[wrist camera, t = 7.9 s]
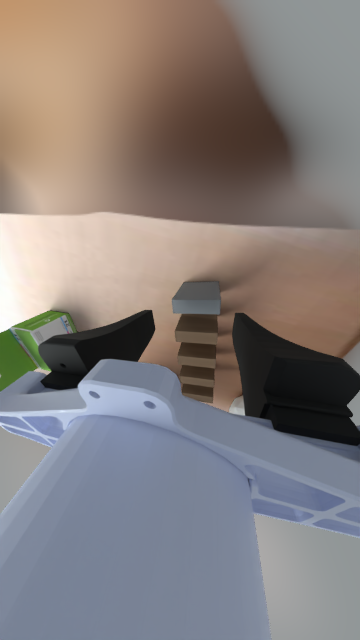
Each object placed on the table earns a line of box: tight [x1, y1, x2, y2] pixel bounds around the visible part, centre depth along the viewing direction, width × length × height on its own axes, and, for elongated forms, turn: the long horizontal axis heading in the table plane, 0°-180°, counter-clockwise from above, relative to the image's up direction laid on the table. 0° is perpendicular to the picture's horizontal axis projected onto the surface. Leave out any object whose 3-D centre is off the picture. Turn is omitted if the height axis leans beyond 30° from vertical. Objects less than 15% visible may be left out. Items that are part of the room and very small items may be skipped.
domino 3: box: [178, 342, 216, 368], centre depth 22 cm, size 2×5×7 cm, turn 94°
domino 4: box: [180, 365, 214, 388], centre depth 24 cm, size 2×5×7 cm, turn 94°
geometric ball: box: [229, 395, 245, 416], centre depth 28 cm, size 8×8×8 cm
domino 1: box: [172, 281, 221, 314], centre depth 18 cm, size 2×5×7 cm, turn 94°
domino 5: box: [182, 383, 213, 403], centre depth 25 cm, size 2×5×7 cm, turn 94°
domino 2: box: [175, 314, 218, 345], centre depth 20 cm, size 2×5×7 cm, turn 94°
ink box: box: [0, 311, 77, 392], centre depth 26 cm, size 10×5×14 cm, turn 0°
